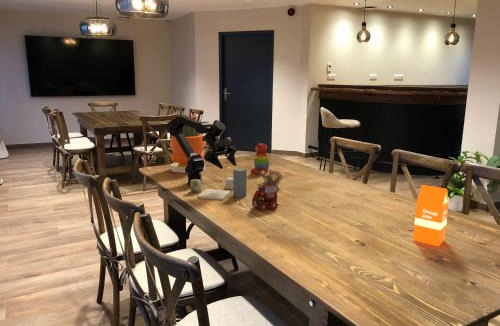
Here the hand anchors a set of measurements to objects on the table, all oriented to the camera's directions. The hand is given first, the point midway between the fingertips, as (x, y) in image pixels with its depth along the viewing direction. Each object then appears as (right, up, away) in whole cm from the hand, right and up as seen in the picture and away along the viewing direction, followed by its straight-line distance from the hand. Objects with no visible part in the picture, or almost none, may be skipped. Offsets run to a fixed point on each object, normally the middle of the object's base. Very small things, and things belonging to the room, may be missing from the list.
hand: (229, 167), depth 206 cm
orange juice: (+75, -26, -55) cm, 97 cm away
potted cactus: (-27, -3, +51) cm, 58 cm away
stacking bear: (+17, -4, +48) cm, 51 cm away
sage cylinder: (-17, -13, +3) cm, 21 cm away
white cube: (+1, -11, +12) cm, 16 cm away
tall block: (+5, -14, -2) cm, 15 cm away
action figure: (+21, -10, +17) cm, 29 cm away
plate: (-7, -14, -2) cm, 16 cm away
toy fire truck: (+17, -18, -21) cm, 33 cm away
